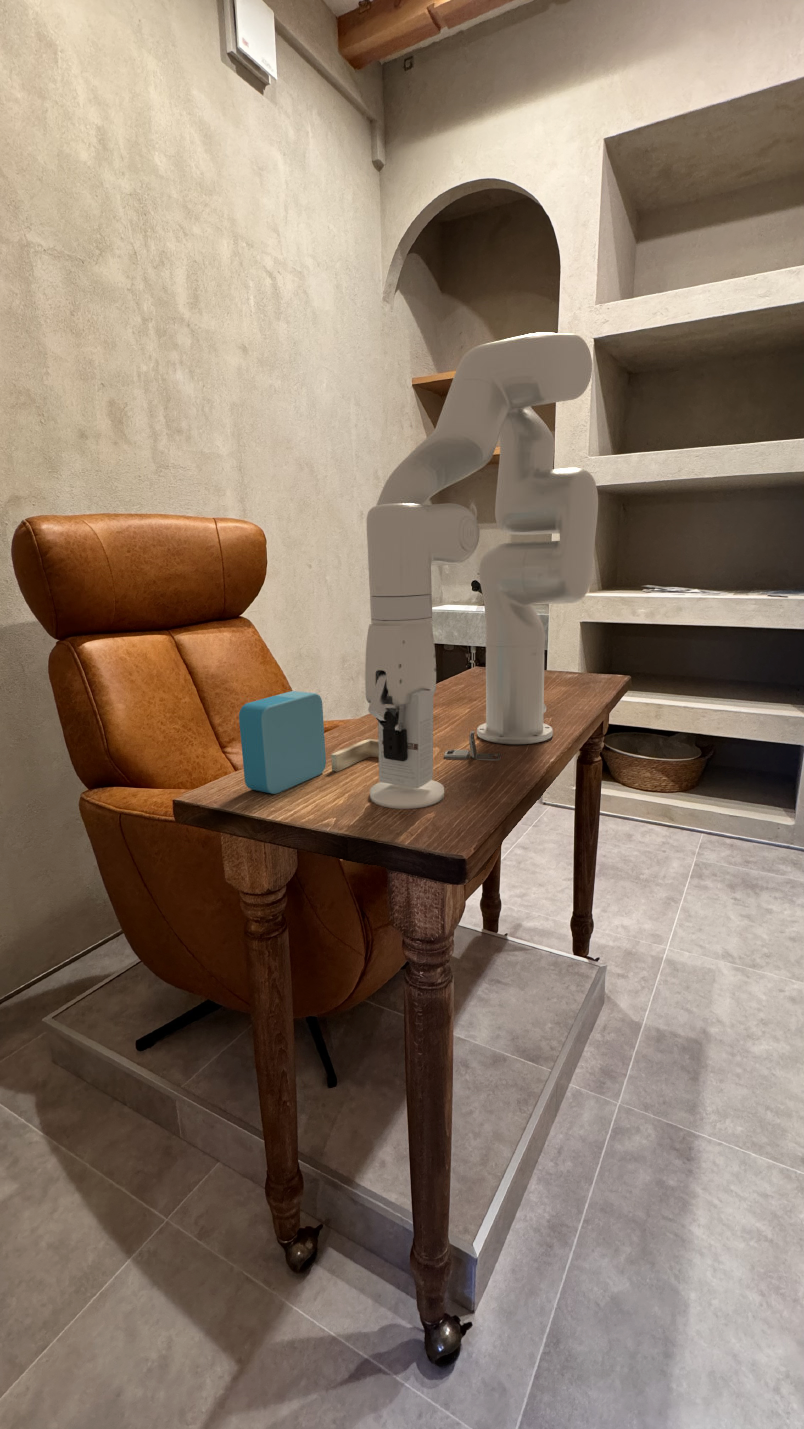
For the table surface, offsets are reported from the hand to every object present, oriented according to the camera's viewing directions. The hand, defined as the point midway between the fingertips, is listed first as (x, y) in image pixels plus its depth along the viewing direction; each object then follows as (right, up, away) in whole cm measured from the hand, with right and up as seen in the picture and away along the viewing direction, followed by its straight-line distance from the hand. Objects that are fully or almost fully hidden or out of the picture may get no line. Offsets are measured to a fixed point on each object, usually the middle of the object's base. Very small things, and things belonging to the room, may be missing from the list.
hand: (406, 752), depth 86 cm
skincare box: (0, -4, +1) cm, 4 cm away
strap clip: (+10, -2, +17) cm, 20 cm away
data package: (-17, -5, +8) cm, 19 cm away
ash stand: (-4, -3, +13) cm, 14 cm away
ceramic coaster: (0, -6, +1) cm, 6 cm away
